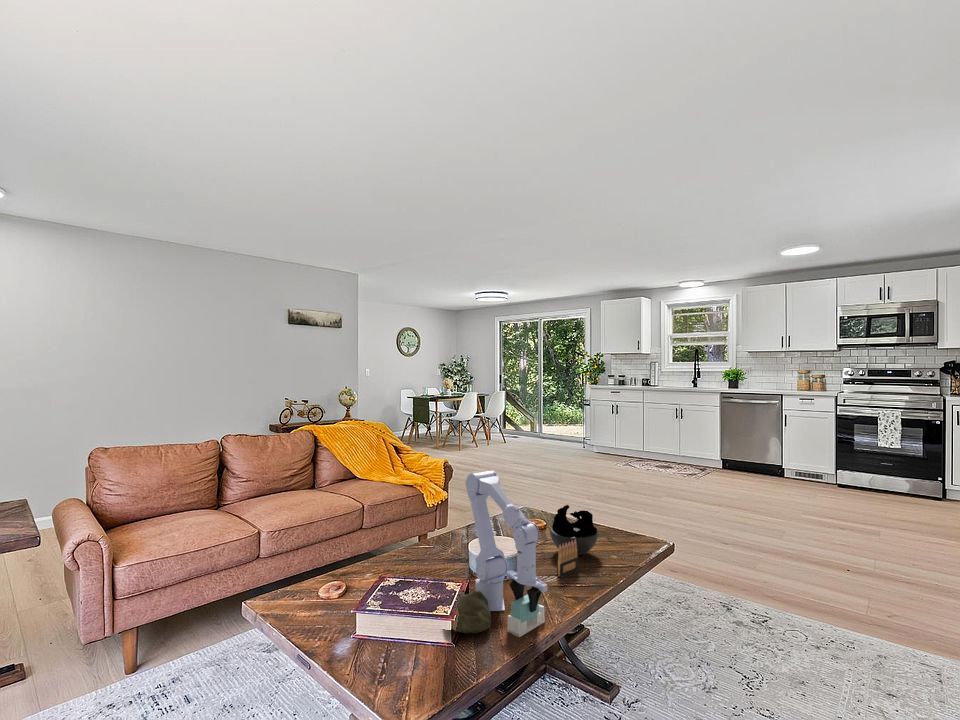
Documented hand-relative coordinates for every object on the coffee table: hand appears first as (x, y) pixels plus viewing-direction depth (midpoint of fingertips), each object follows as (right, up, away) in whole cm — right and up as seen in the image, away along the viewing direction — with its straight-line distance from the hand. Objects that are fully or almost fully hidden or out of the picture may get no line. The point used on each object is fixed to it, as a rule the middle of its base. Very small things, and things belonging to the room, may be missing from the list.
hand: (526, 608), depth 159 cm
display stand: (0, -6, 0) cm, 6 cm away
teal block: (0, -2, -1) cm, 2 cm away
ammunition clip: (+19, -6, +40) cm, 45 cm away
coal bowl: (+25, -6, +59) cm, 64 cm away
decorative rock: (-18, -6, 0) cm, 19 cm away
